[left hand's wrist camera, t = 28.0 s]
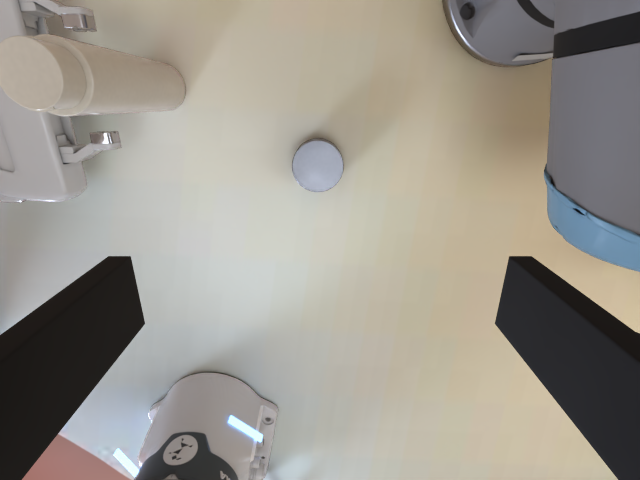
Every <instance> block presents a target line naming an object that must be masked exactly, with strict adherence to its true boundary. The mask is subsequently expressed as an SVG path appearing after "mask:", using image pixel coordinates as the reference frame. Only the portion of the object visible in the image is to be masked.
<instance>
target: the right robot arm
mask: <svg viewBox="0 0 640 480" xmlns="http://www.w3.org/2000/svg"><path fill="white" fill-rule="evenodd" d="M54 13H56V14H58V15H60V16H61V17H62V21H63V25H64V28H66V29H70V30H73V31H77V32H87V31H90V32H96V31H97V29H96V24H95V19H94V14H93V11H92V10H89V9H87V8H84V7H77V6H72V7H67V6H65V5H63V4H62V3H60V2H58V1H56V0H0V43H1V42H2V41H3V40H4V39H6V38H8V37H12V36H36V35H40V34H49V31H48V27H47V23H46V19H45V17H54V16H55V14H54ZM90 137H91V143H90V144H88V145H86V144H77V141H76V137H75V133H74V129H73V125H72V121H71V117H70V116H58V115H54V114H51V113H49V112H36V111H31V110H28V109H27V108H25V107H22V106H20V105H19V104H18V103H16V102H15V101H13V100H12V99H11V98H10V97H9V96H8V95H7V94H6V93H5V92H4V91H3V89H2V88H1V86H0V202H24V201H26V200H33V201H45V202H61V201H65V200H69V199H72V198H74V197H76V196H78V195H80V194H81V193H82V192H83V191H84V190H85V189H86V188H87V180H86V176H85V172H84V168H83V164H82V161H85V160H89V159H91V158H93V157H94V156H95V155H97V154H98V153H100V152H101V151H102V150H111V149H118V148H122V147H121V142H120V138H119V133H118V131H111V132H109V131H100V132H93V133H90ZM277 414H278V408H277V406H276V405H274V404H273V403H271V402H269V401H267V400H265V399H263V398H261V397H259V396H258V395H257V394H256V393H255V392H254V391H253V390H252V389H251V388H250V387H249V386H248V385H246V384H245V383H243V382H242V381H240V380H238V379H236V378H234V377H231V376H228V375H224V374H219V373H198V374H193V375H190V376H187V377H185V378H183V379H181V380H179V381H178V382H177V383H175V384H174V385H173V386H172V387H171V389H170V390H169V392H168V393H167V395H166V396H165V398H164V399H162V400H161V401H159V402H157V403H155V404H154V405H153V406H152V407H151V409H150V411H149V414H148V416H149V418H150V420H151V422H152V424H151V426H150V428H149V430H148V433H147V435H146V438H145V440H144V442H143V445H142V447H141V449H140V452H139V454H138V459H137V461H138V462H139V465H140V467H141V468H140V470H139V469H138V468H137V467H136V466H135V465H134V464H133V463H132V462H131V461H130V460H129V459H128V458H127V457H126V456H125V455H124V454H123V453H122V452H121V450H120V449H117V450H116V452H115V453H114V456H115V457H116V458H117V459H118V460H119V461H120V462H121V463H122V464H123V465H124V467H125V468H126V469H127V470H128V471H129V472H130V473H131V474H132V475H133V476H134V477H135V478H134V480H263V478H265V476H266V473H267V469H268V464H269V458H270V453H271V447H272V442H273V436H274V431H275V425H276V420H277ZM268 417H269V418H268Z"/></svg>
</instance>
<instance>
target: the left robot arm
mask: <svg viewBox="0 0 640 480" xmlns="http://www.w3.org/2000/svg"><path fill="white" fill-rule="evenodd" d="M443 7H444V11H445V15H446V18H447V22H448V24H449V26H450V29H451V31H452V33H453V34H454V36H455V38H456V39H457V41H458V42H459V43H460V45H461V46H462V47H463V48H464V49H465V50H466V51H467V52H468V53H470V54H471V55H472V56H474V57H475V58H477V59H479V60H481V61H482V62H485V63H488V64H491V65H495V66H501V67H517V66H524V65H529V64H534V63H538V62H541V61H544V60H546V59H549V58H552V57H553V58H554V59H552V77H551V100H550V122H549V138H548V154H547V164H546V166H545V170H544V179H545V182H546V184H547V211H548V217H549V220H550V222H551V224H552V226H553V228H554V229H555V230H556V231H557V232H558V233H559V234H561V235H562V236H563V238H564V239H565V240H566V241H567V242H568V243H570V244H571V245H573V246H575V247H576V248H578V249H579V250H581V251H583V252H585V253H587V254H589V255H591V256H593V257H596V258H598V259H600V260H603V261H606V262H609V263H611V264H614V265H617V266H621V267H624V268H627V269H631V270H634V271H639V272H640V0H443ZM582 52H583V53H582ZM577 53H578V54H577ZM144 324H145V321H144V317H143V312H142V307H141V303H140V298H139V293H138V289H137V284H136V279H135V275H134V270H133V265H132V260H131V256H108V257H107V258H106V259H104V260H103V261H102V262H100V263H99V264H97V265H96V266H95V267H93V268H92V269H91V270H89V271H88V272H86V273H85V274H84V275H82V276H81V277H80V278H78V279H77V280H75V281H74V282H73V283H71V284H70V285H69V286H67V287H66V288H64V289H63V290H62V291H60V292H59V293H58V294H56V295H55V296H53V297H52V298H51V299H49V300H48V301H47V302H45V303H44V304H42V305H41V306H40V307H38V308H37V309H36V310H34V311H33V312H32V313H30V314H29V315H27V316H26V317H25V318H23V319H22V320H21V321H19V322H18V323H16V324H15V325H14V326H12V327H11V328H10V329H8V330H7V331H5V332H4V333H3V334H1V335H0V480H22V478H23V477H24V476H25V475H26V473H27V472H28V471H29V470H30V468H31V467H32V466H33V465H34V463H35V462H36V461H37V460H38V458H39V457H40V456H41V454H42V453H43V452H44V451H45V449H46V448H47V447H48V446H49V444H50V443H51V442H52V441H53V439H54V438H55V437H56V436H57V434H58V433H59V432H60V430H61V429H62V428H63V427H64V425H65V424H66V423H67V422H68V420H69V419H70V418H71V417H72V415H73V414H74V413H75V411H76V410H77V409H78V408H79V406H80V405H81V404H82V403H83V401H84V400H85V399H86V398H87V396H88V395H89V394H90V393H91V391H92V390H93V389H94V387H95V386H96V385H97V384H98V382H99V381H100V380H101V379H102V377H103V376H104V375H105V374H106V372H107V371H108V370H109V369H110V367H111V366H112V365H113V363H114V362H115V361H116V360H117V358H118V357H119V356H120V355H121V353H122V352H123V351H124V350H125V348H126V347H127V346H128V344H129V343H130V342H131V341H132V339H133V338H134V337H135V336H136V334H137V333H138V332H139V331H140V329H141V328H142V327H143V326H144ZM495 324H496V326H497V327H498V328H499V329H500V331H501V332H502V333H503V334H504V336H505V337H506V338H507V339H508V341H509V342H510V343H511V344H512V346H513V347H514V348H515V350H516V351H517V352H518V353H519V355H520V356H521V357H522V358H523V360H524V361H525V362H526V363H527V365H528V366H529V367H530V369H531V370H532V371H533V372H534V374H535V375H536V376H537V377H538V379H539V380H540V381H541V382H542V384H543V385H544V386H545V387H546V389H547V390H548V391H549V393H550V394H551V395H552V396H553V398H554V399H555V400H556V401H557V403H558V404H559V405H560V406H561V408H562V409H563V410H564V411H565V413H566V414H567V415H568V417H569V418H570V419H571V420H572V422H573V423H574V424H575V425H576V427H577V428H578V429H579V430H580V432H581V433H582V434H583V436H584V437H585V438H586V439H587V441H588V442H589V443H590V444H591V446H592V447H593V448H594V449H595V451H596V452H597V453H598V454H599V456H600V457H601V458H602V460H603V461H604V462H605V463H606V465H607V466H608V467H609V468H610V470H611V471H612V472H613V473H614V475H615V476H616V477H617V479H618V480H640V334H639V333H637V332H635V331H633V330H632V329H630V328H629V327H628V326H626V325H625V324H624V323H622V322H621V321H619V320H618V319H617V318H615V317H614V316H613V315H611V314H610V313H608V312H607V311H606V310H604V309H603V308H602V307H600V306H599V305H598V304H596V303H595V302H593V301H592V300H591V299H589V298H588V297H587V296H585V295H584V294H582V293H581V292H580V291H578V290H577V289H576V288H574V287H573V286H571V285H570V284H569V283H567V282H566V281H565V280H563V279H562V278H560V277H559V276H558V275H556V274H555V273H554V272H552V271H551V270H549V269H548V268H547V267H545V266H544V265H543V264H541V263H540V262H538V261H537V260H536V259H534V258H533V257H532V256H509V260H508V265H507V270H506V275H505V279H504V284H503V289H502V293H501V298H500V303H499V307H498V312H497V317H496V321H495Z"/></svg>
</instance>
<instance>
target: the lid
mask: <svg viewBox="0 0 640 480" xmlns="http://www.w3.org/2000/svg"><path fill="white" fill-rule="evenodd" d="M292 170H293V174H294V177H295V179H296V180H297V182H298V183H299V184H300V185H301V186H302V187H303V188H305V189H307V190H309V191H313V192H323V191H326V190H329V189H331V188H332V187H334V186H335V185H336V184H337V183H338V181H339V180H340V178H341V176H342V173H343V159H342V156H341V154H340V152H339V150H338V148H337V147H336V146H335V145H334V144H333V143H331V142H330V141H328V140H325V139H321V138H315V139H310V140H308V141H306V142H304V143H303V144H302V145H301V146H300V147H299V148H298V150H297V151H296V153H295V156H294V158H293V163H292Z"/></svg>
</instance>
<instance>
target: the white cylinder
mask: <svg viewBox="0 0 640 480" xmlns="http://www.w3.org/2000/svg"><path fill="white" fill-rule="evenodd" d="M0 86H1V88H2V89H3V91H4V92H5V93H6V94H7V95H8V96H9V97H10V98H11V99H12V100H13V101H15V102H16V103H18V104H19V105H20V106H22V107H25V108H27V109H28V110H31V111H36V112H49V113H51V114H54V115H58V116H85V115H103V114H121V113H139V112H156V111H170V110H174V109H176V108H177V107H179V106H180V105H181V103H182V102H183V100H184V97H185V91H186V89H185V83H184V80H183V78H182V76H181V75H180V73H179V72H178V71H177V70H176V69H175V68H174V67H172V66H171V65H169V64H166V63H163V62H159V61H155V60H151V59H147V58H143V57H139V56H135V55H131V54H127V53H123V52H119V51H115V50H111V49H108V48H104V47H100V46H96V45H92V44H88V43H84V42H80V41H76V40H72V39H68V38H64V37H60V36H56V35H51V34H40V35H36V36H12V37H8V38H6V39H4V40H3V41H2V42H1V43H0Z"/></svg>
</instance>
